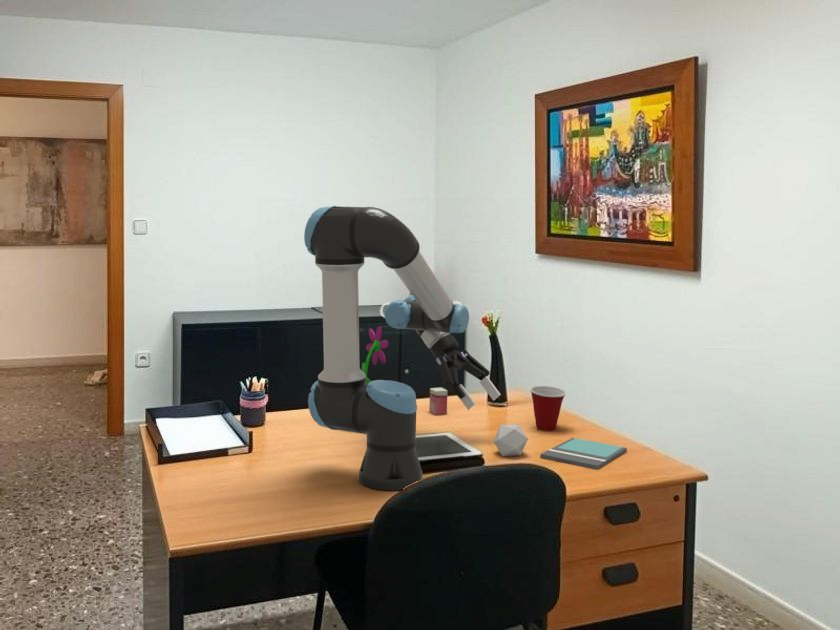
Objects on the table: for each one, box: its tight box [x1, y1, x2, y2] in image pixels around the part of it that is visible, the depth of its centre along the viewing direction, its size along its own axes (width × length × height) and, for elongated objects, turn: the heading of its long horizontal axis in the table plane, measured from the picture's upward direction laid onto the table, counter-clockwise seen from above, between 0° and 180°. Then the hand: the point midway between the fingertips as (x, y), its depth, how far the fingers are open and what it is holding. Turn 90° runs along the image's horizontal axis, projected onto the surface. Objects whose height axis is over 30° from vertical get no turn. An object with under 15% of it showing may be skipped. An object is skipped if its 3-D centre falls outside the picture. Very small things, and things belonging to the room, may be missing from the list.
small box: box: [428, 387, 449, 416], centre depth 259 cm, size 5×4×8 cm
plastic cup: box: [529, 385, 567, 432], centre depth 242 cm, size 11×11×12 cm
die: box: [492, 424, 529, 457], centre depth 216 cm, size 8×9×10 cm
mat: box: [539, 437, 628, 470], centre depth 217 cm, size 20×16×1 cm
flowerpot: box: [361, 325, 389, 385], centre depth 242 cm, size 14×14×30 cm
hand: (484, 402), depth 221 cm, fingers open, 13 cm apart
